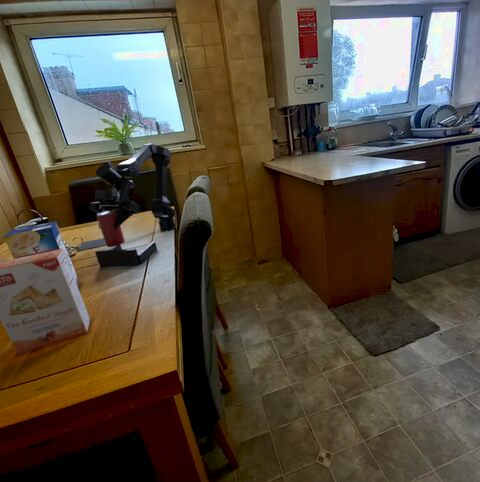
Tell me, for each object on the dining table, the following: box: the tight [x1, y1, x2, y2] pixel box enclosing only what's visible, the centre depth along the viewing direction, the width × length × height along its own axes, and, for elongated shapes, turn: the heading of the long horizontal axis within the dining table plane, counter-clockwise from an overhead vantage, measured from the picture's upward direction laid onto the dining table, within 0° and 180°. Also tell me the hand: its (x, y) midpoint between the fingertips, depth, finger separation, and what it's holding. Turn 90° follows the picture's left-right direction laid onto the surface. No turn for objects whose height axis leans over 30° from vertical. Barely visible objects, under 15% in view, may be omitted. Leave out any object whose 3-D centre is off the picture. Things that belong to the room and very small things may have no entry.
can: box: [95, 210, 126, 248], centre depth 103 cm, size 6×6×12 cm
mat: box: [77, 237, 106, 252], centre depth 127 cm, size 11×11×1 cm
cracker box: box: [0, 249, 91, 355], centre depth 63 cm, size 14×6×21 cm, turn 114°
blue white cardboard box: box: [3, 220, 80, 287], centre depth 83 cm, size 7×11×22 cm, turn 116°
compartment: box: [94, 241, 158, 268], centre depth 105 cm, size 13×16×7 cm
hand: (107, 228), depth 101 cm, fingers closed on can, 6 cm apart
